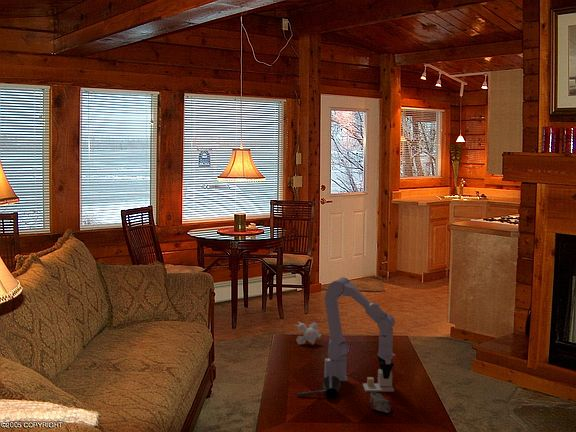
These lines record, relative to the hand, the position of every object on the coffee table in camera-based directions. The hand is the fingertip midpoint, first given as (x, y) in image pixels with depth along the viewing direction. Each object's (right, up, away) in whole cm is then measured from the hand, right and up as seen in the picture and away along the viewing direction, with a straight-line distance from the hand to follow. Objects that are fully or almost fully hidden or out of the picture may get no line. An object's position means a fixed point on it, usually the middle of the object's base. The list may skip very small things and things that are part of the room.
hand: (384, 375), depth 308 cm
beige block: (0, -4, 0) cm, 4 cm away
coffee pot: (-28, -6, -10) cm, 31 cm away
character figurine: (-31, +3, +62) cm, 69 cm away
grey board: (-3, -5, -2) cm, 6 cm away
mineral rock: (-5, -8, -23) cm, 25 cm away
